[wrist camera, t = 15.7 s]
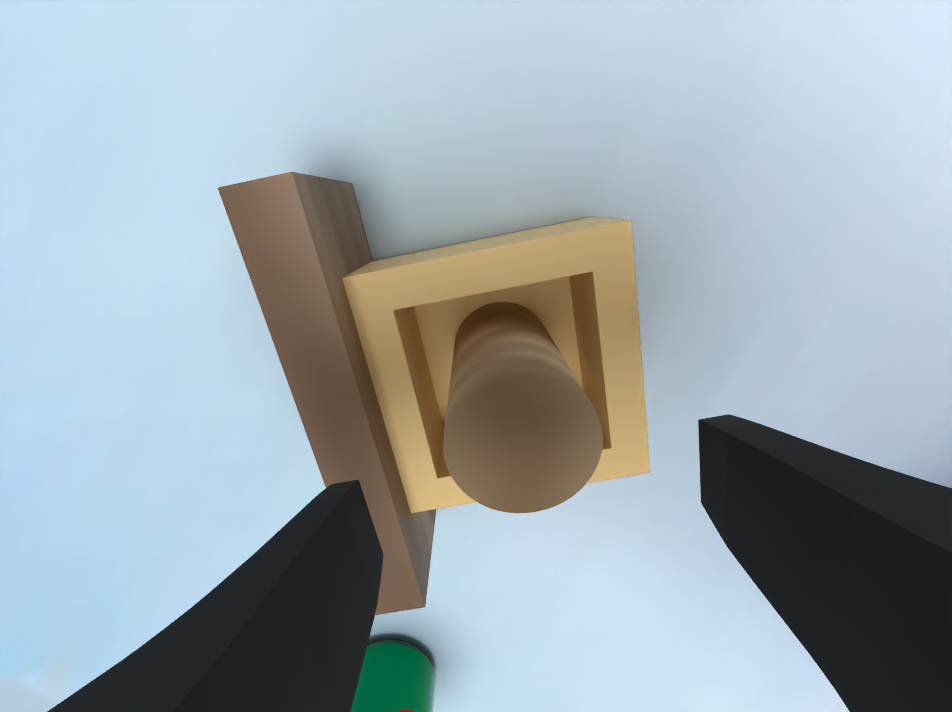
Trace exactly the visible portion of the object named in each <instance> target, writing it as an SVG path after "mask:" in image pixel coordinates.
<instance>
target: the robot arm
mask: <svg viewBox="0 0 952 712" xmlns="http://www.w3.org/2000/svg"><path fill="white" fill-rule="evenodd" d="M698 422H699V454H700V485H701V503H702V505H703V507H704V508H705V510H706V512H707V514H708V515H709V517H710V519H711V521H712V522H713V524H714V526H715V528H716V529H717V531H718V532H719V534H720V536H721V537H722V539H723V541H724V542H725V544H726V546H727V547H728V548H729V550H730V551H731V553H732V554H733V555H734V557H735V558H736V559H737V561H738V562H739V563H740V564H741V566H742V567H743V568H744V570H745V571H746V572H747V574H748V575H749V576H750V578H751V579H752V580H753V582H754V583H755V584H756V585H757V587H758V588H759V589H760V591H761V592H762V593H763V595H764V596H765V597H766V598H767V600H768V601H769V602H770V604H771V605H772V606H773V607H774V609H775V610H776V611H777V613H778V614H779V615H780V616H781V618H782V619H783V620H784V622H785V623H786V624H787V626H788V627H789V628H790V629H791V631H792V632H793V633H794V635H795V636H796V637H797V638H798V640H799V641H800V642H801V644H802V645H803V646H804V648H805V649H806V650H807V651H808V653H809V654H810V655H811V657H812V658H813V659H814V661H815V662H816V663H817V665H818V666H819V667H820V669H821V670H822V672H823V673H824V674H825V676H826V677H827V679H828V680H829V681H830V683H831V684H832V686H833V687H834V688H835V690H836V691H837V693H838V694H839V696H840V697H841V699H842V701H843V702H844V704H845V705H846V707H847V708H848V710H849V711H850V712H952V488H948V487H945V486H941V485H938V484H935V483H931V482H928V481H925V480H922V479H918V478H915V477H912V476H909V475H906V474H903V473H899V472H896V471H893V470H890V469H887V468H883V467H880V466H877V465H874V464H871V463H868V462H865V461H862V460H860V459H857V458H854V457H851V456H848V455H845V454H842V453H839V452H836V451H834V450H831V449H828V448H825V447H822V446H819V445H817V444H814V443H811V442H808V441H806V440H803V439H800V438H797V437H795V436H792V435H789V434H786V433H783V432H781V431H778V430H775V429H772V428H770V427H767V426H764V425H761V424H758V423H755V422H752V421H749V420H746V419H743V418H740V417H736V416H732V415H723V416H717V417H712V418H706V419H700V420H698ZM383 556H384V555H383V552H382V549H381V545H380V542H379V539H378V536H377V533H376V530H375V527H374V524H373V521H372V518H371V515H370V512H369V509H368V506H367V503H366V500H365V497H364V494H363V491H362V488H361V485H360V482H359V479H358V480H352V481H347V482H341V483H335V484H331V485H330V486H328V487H327V488H326V489H325V490H323V491H322V492H321V493H320V494H319V495H318V496H316V497H315V498H314V499H313V500H312V501H311V502H310V503H309V504H307V505H306V506H305V507H304V508H303V509H302V510H301V511H300V512H299V513H298V514H297V515H296V516H295V517H294V518H292V519H291V520H290V521H289V522H288V523H287V524H286V525H285V526H284V527H283V528H282V529H281V530H280V531H278V532H277V533H276V534H275V535H274V536H273V537H272V538H271V539H270V540H269V541H268V542H267V543H265V544H264V545H263V546H262V547H261V548H260V549H259V550H258V551H257V552H256V553H255V554H253V555H252V556H251V557H250V558H249V559H248V560H247V561H245V562H244V563H243V564H242V565H241V566H240V567H239V568H237V569H236V570H235V571H234V572H233V573H232V574H230V575H229V576H228V577H227V578H226V579H225V580H224V581H222V582H221V583H220V584H219V585H218V586H217V587H215V588H214V589H213V590H212V591H211V592H210V593H209V594H207V595H206V596H205V597H204V598H203V599H201V600H200V601H199V602H198V603H196V604H195V605H194V606H193V607H192V608H190V609H189V610H188V611H187V612H185V613H184V614H183V615H182V616H180V617H179V618H178V619H177V620H175V621H174V622H173V623H171V624H170V625H169V626H167V627H166V628H165V629H163V630H162V631H161V632H160V633H158V634H157V635H156V636H154V637H153V638H152V639H150V640H149V641H148V642H146V643H145V644H144V645H142V646H141V647H140V648H138V649H137V650H136V651H134V652H133V653H132V654H130V655H129V656H127V657H126V658H125V659H123V660H122V661H120V662H119V663H118V664H116V665H115V666H113V667H112V668H110V669H109V670H107V671H106V672H104V673H103V674H102V675H100V676H99V677H97V678H96V679H94V680H93V681H91V682H90V683H88V684H87V685H86V686H84V687H83V688H81V689H80V690H78V691H77V692H75V693H74V694H72V695H71V696H70V697H68V698H67V699H65V700H64V701H62V702H61V703H59V704H58V705H56V706H55V707H54V708H52V709H51V710H49V711H48V712H350V711H351V708H352V704H353V700H354V696H355V692H356V688H357V684H358V680H359V676H360V672H361V668H362V664H363V660H364V656H365V653H366V649H367V645H368V641H369V637H370V633H371V628H372V624H373V620H374V616H375V612H376V608H377V604H378V597H379V590H380V582H381V574H382V565H383Z"/></svg>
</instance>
